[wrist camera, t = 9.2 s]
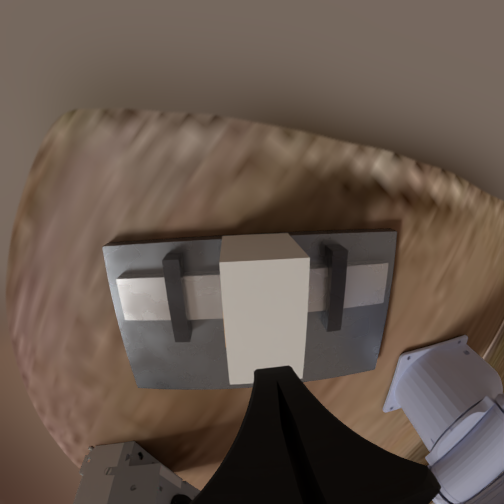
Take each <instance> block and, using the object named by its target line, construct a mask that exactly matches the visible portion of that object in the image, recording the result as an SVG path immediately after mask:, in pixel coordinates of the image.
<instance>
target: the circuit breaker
mask: <svg viewBox="0 0 504 504" xmlns="http://www.w3.org/2000/svg"><path fill="white" fill-rule="evenodd" d="M88 449H89V450H90V452H89V455H85V458H84V461H83V463H82V466H81V469H80V471H79V473H80V474H81V475H82V479H81V482H80V485H79V488H78V491H77V494H76V497H75V500H74V503H73V504H189V503H190V502H191V501H192V500H193V499H194V498H195V497H196V496H197V495H198V494H199V493H200V492H201V491H200V490H198V489H197V488H195V487H194V486H192V485H191V484H189V483H188V482H186V481H182V480H183V479H182V478H180V477H179V476H177V475H176V474H175V473H174V472H172V471H171V470H170V469H168V468H167V467H166V466H164V465H163V464H162V463H160V462H159V461H158V460H156V459H155V458H154V457H153V456H151V455H150V454H149V453H148V452H147V451H145V450H144V449H143V448H142V447H141V446H139V445H138V444H137V443H136V442H135V441H131V442H124V443H117V444H109V445H100V446H95V448H92V447H91V446H89V448H88ZM141 457H142V458H143V459H142V460H140V459H141ZM88 459H91V460H90V462H87V461H88Z"/></svg>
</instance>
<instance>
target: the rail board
mask: <svg viewBox="0 0 504 504" xmlns="http://www.w3.org/2000/svg"><path fill="white" fill-rule="evenodd" d="M281 233H288V234H289V235H290V236H291V237H292V238H293V239H294V241H295V242H296V243H297V244H298V245H299V246H300V247H301V248H302V249H303V251H304V252H305V253H306V254H307V255H308V256H309V257H310V271H309V294H308V313H307V329H306V343H305V356H304V368H303V378H302V379H300V380H301V381H302V382H307V381H314V380H321V379H327V378H333V377H339V376H345V375H350V374H355V373H360V372H365V371H369V370H374V369H375V366H376V362H377V358H378V354H379V350H380V345H381V340H382V336H383V331H384V326H385V320H386V315H387V309H388V303H389V297H390V290H391V283H392V276H393V268H394V259H395V249H396V238H397V231H395V230H392V229H358V230H329V231H304V232H281ZM260 234H278V233H260ZM240 235H255V234H240ZM222 236H233V235H222ZM222 236H204V237H187V238H171V239H156V240H141V241H127V242H113V243H107V244H106V245H104V246H103V253H104V259H105V265H106V270H107V275H108V280H109V285H110V290H111V295H112V299H113V303H114V308H115V312H116V316H117V320H118V324H119V328H120V331H121V335H122V339H123V342H124V346H125V349H126V352H127V356H128V359H129V362H130V365H131V368H132V371H133V374H134V377H135V380H136V383H137V386H138V388H152V389H232V388H249V387H253V383H250V384H231V385H230V381H229V372H228V362H227V351H226V344H225V333H224V321H223V306H222V293H221V280H220V265H219V261H220V252H221V244H222Z"/></svg>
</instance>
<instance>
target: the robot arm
mask: <svg viewBox="0 0 504 504" xmlns="http://www.w3.org/2000/svg"><path fill="white" fill-rule="evenodd" d="M467 340H468V336H466V335H463V336H460V337H457V338H454V339H451V340H448V341H444V342H441V343H438V344H435V345H431V346H428V347H424V348H420V349H417V350H413V351H409V352H405V353H403V354H401V355H400V357H399V360H398V364H397V367H396V370H395V374H394V377H393V380H392V383H391V386H390V389H389V392H388V395H387V398H386V401H385V404H384V407H383V411H384V412H389V411H393V410H396V409H399V408H402V409H403V411H404V412H405V414H406V415H407V417H408V419H409V420H410V422H411V423H412V425H413V426H414V428H415V429H416V431H417V433H418V434H419V436H420V437H421V439H422V440H423V442H424V444H425V445H426V447H427V448H428V450H429V452H430V453H429V454H428V455H427V456H426V457H425V458H426V460H427V461H428V463H429V465H428V466H425V465H422V464H419V463H416V462H413V461H410V460H407V459H404V458H402V457H399V456H397V455H395V454H392V453H390V452H388V451H386V450H384V449H382V448H380V447H379V446H377V445H375V444H373V443H371V442H370V441H368V440H366V439H364V438H363V437H361V436H360V435H358V434H357V433H355V432H354V431H353V430H351V429H350V428H348V427H347V426H346V425H345V424H343V423H342V422H341V421H340V420H338V419H337V418H336V417H335V416H334V415H333V414H332V413H330V412H329V411H328V410H327V409H326V408H325V407H324V406H323V405H322V404H321V403H320V402H319V401H318V400H317V399H316V397H315V396H314V395H313V394H312V393H311V392H310V391H309V390H308V389H307V387H306V386H305V385H304V384H303V382H302V381H301V380H300V378H299V377H298V376H297V374H296V373H295V371H294V370H293V368H292V367H291V366H289V365H288V366H280V367H271V368H262V369H256V370H255V371H254V382H253V389H252V394H251V398H250V401H249V405H248V408H247V411H246V414H245V417H244V420H243V422H242V425H241V427H240V430H239V432H238V434H237V436H236V438H235V440H234V442H233V444H232V446H231V448H230V450H229V452H228V453H227V455H226V457H225V458H224V460H223V462H222V463H221V465H220V466H219V468H218V469H217V471H216V472H215V474H214V475H213V476H212V478H211V479H210V480H209V482H208V483H207V484H206V485H205V487H204V488H203V489H202V490H201V492H200V493H199V494H198V495H197V496H196V497H195V498H194V499H193V500H192V501H191V502H190V503H189V504H429V503H430V502H431V501H433V502H434V503H435V504H504V472H503V471H504V393H503V387H502V382H501V379H500V377H499V375H498V373H497V372H496V371H495V369H494V368H492V367H491V366H490V365H489V364H488V363H487V362H486V361H485V360H484V359H483V358H481V357H480V356H479V355H478V354H477V353H476V352H475V351H474V350H472V349H471V348H470V347H469V346H468V345H467V344H466V343H467ZM408 356H409V357H408ZM502 472H503V473H502ZM501 473H502V474H501ZM500 474H501V475H500ZM499 475H500V476H499ZM498 476H499V477H498ZM497 477H498V478H497ZM496 478H497V479H496ZM492 481H493V482H492ZM491 482H492V483H491ZM490 483H491V484H490ZM489 484H490V485H489ZM488 485H489V486H488ZM484 488H485V489H484Z"/></svg>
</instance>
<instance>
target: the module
mask: <svg viewBox="0 0 504 504" xmlns="http://www.w3.org/2000/svg"><path fill="white" fill-rule="evenodd" d="M219 265H220V280H221V293H222V306H223V321H224V333H225V344H226V351H227V362H228V372H229V381H230V385H231V384H250V383H253V382H254V371H255V370H256V369H262V368H271V367H280V366H288V365H289V366H291V367H292V368H293V370H294V371H295V373H296V374H297V376H298V377H299V378H300V379H302V378H303V368H304V356H305V343H306V329H307V313H308V294H309V271H310V257H309V256H308V255H307V254H306V253H305V252H304V251H303V249H302V248H301V247H300V246H299V245H298V244H297V243H296V242H295V241H294V239H293V238H292V237H291V236H290V235H289V234H288V233H278V234H255V235H233V236H222V244H221V252H220V261H219Z"/></svg>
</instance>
